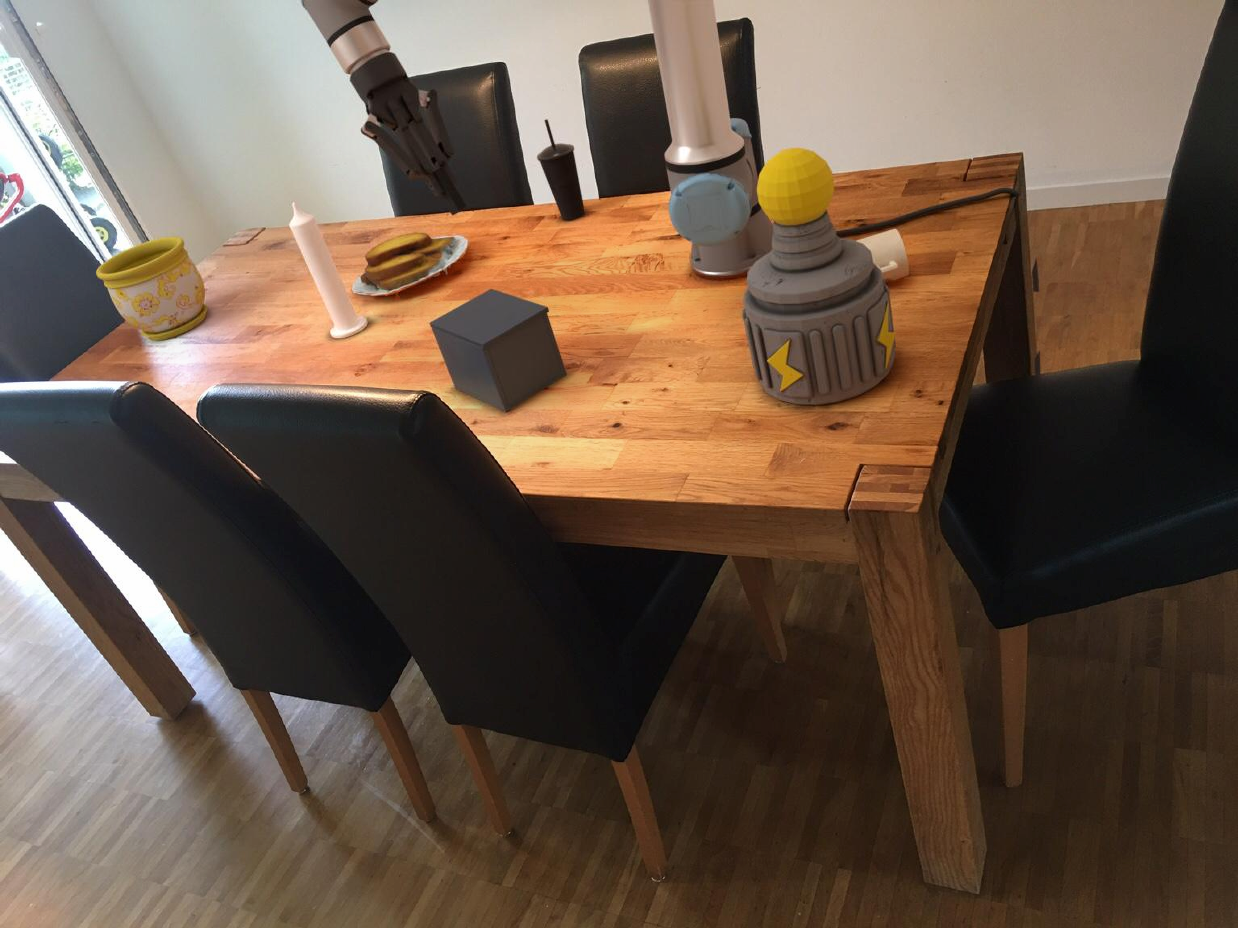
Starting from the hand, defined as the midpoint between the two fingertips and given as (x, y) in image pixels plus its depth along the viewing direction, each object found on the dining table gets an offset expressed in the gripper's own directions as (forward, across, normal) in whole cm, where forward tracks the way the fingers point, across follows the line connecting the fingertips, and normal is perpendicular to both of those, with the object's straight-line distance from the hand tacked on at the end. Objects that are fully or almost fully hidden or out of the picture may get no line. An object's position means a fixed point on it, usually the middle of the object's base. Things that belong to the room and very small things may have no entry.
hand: (459, 211), depth 151 cm
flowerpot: (-13, +25, -92) cm, 97 cm away
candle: (+6, +8, -48) cm, 49 cm away
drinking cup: (+10, -44, -44) cm, 63 cm away
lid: (+15, +6, +2) cm, 17 cm away
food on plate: (+3, -12, -56) cm, 57 cm away
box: (+25, +7, -2) cm, 26 cm away
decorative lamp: (+43, -15, +37) cm, 59 cm away
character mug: (+35, -32, +25) cm, 53 cm away
